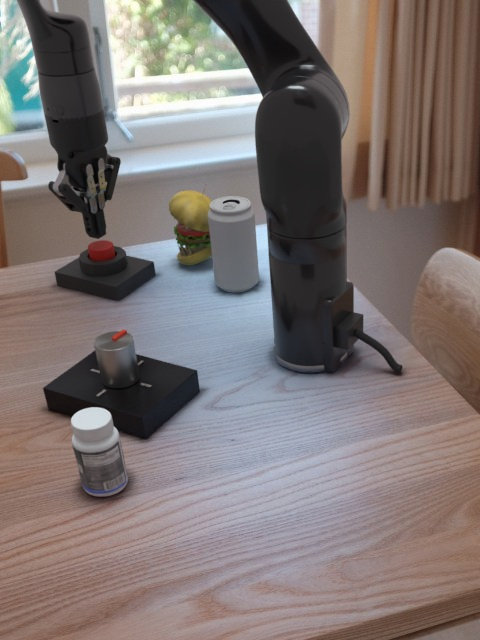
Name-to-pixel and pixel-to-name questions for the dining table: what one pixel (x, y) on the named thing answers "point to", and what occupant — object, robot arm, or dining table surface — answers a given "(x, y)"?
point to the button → (101, 250)
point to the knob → (117, 359)
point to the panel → (125, 394)
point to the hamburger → (191, 226)
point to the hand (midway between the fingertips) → (97, 236)
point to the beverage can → (233, 243)
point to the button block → (106, 274)
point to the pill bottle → (98, 452)
